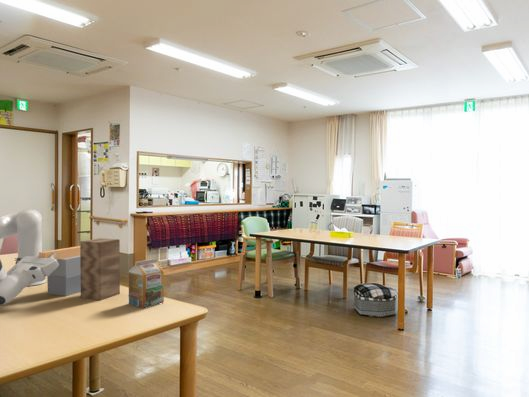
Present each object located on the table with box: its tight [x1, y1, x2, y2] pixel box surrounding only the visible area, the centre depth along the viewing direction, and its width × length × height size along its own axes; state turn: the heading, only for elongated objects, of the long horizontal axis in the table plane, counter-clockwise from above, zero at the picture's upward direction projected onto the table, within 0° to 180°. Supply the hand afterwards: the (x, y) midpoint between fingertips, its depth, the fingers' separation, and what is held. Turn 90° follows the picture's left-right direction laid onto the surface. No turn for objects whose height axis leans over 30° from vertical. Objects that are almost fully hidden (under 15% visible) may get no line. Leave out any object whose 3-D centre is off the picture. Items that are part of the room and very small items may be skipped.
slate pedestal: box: [46, 255, 81, 297], centre depth 194 cm, size 12×12×17 cm
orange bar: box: [39, 245, 80, 260], centre depth 192 cm, size 4×24×4 cm, turn 158°
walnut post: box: [79, 237, 121, 301], centre depth 187 cm, size 12×12×26 cm
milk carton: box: [128, 258, 165, 309], centre depth 175 cm, size 11×11×19 cm
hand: (50, 253), depth 185 cm, fingers open, 4 cm apart
